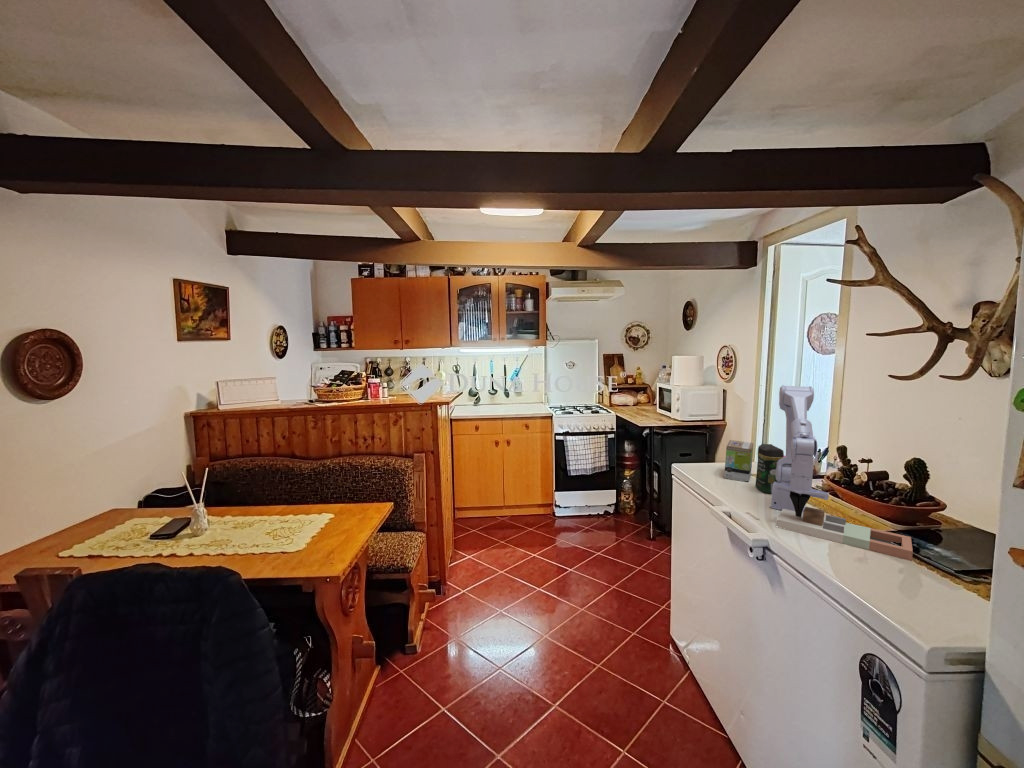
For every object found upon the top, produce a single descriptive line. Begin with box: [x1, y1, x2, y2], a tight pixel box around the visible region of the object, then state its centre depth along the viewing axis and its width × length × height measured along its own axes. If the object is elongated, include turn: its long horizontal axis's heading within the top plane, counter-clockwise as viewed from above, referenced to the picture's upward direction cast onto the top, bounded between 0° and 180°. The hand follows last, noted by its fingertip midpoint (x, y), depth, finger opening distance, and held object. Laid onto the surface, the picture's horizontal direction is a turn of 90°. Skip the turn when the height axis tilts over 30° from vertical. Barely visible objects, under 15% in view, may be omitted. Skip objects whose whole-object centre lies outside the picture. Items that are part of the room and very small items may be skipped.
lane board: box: [775, 509, 914, 561], centre depth 131 cm, size 32×12×4 cm, turn 49°
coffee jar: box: [755, 443, 785, 495], centre depth 171 cm, size 10×8×19 cm
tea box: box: [723, 439, 754, 482], centre depth 190 cm, size 15×10×15 cm
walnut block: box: [803, 506, 826, 526], centre depth 135 cm, size 5×5×4 cm
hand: (798, 515), depth 138 cm, fingers closed
